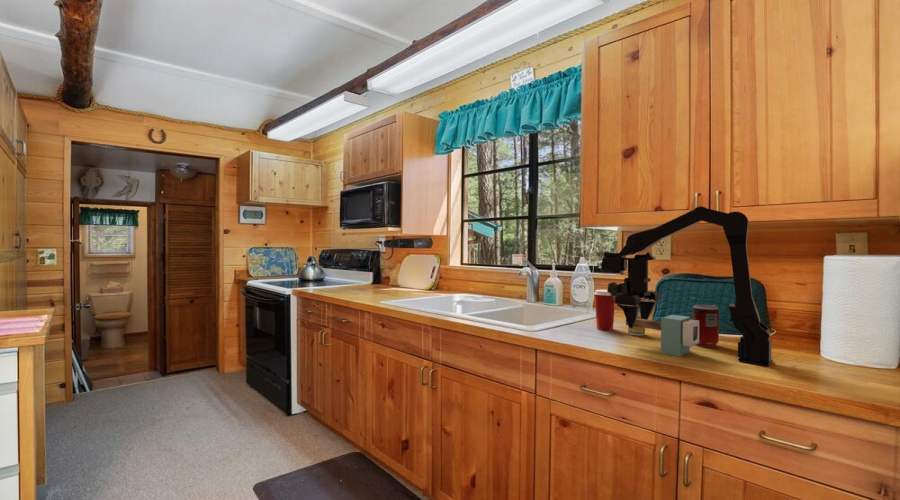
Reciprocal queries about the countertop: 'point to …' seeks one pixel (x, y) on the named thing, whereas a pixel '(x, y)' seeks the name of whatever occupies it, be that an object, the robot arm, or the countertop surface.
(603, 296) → the paper cup
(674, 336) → the block
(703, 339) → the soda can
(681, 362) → the countertop surface
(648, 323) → the shaft
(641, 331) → the supplement bottle
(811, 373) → the countertop surface
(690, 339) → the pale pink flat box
